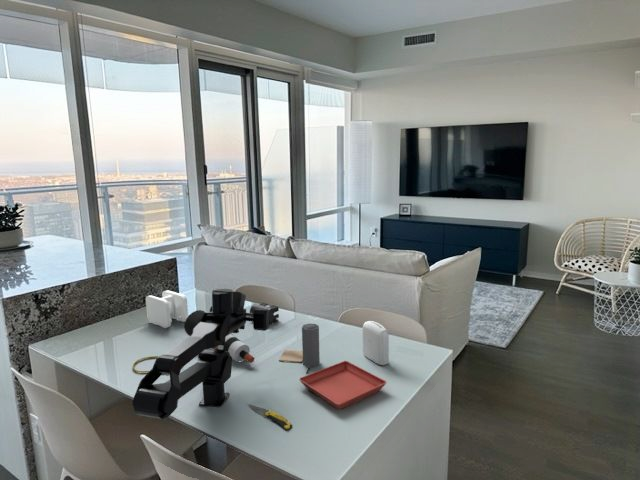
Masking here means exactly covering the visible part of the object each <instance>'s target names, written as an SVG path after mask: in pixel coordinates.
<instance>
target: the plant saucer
mask: <svg viewBox="0 0 640 480" xmlns="http://www.w3.org/2000/svg"><path fill="white" fill-rule="evenodd" d="M298 380H299V381H300V383H301V384H302V385H303V386H304V387H306V389H307V390H309V391H311V392H312V393H314V394H315V395H317V396H318V397H320V398H321V399H322V400H324V401H326V402H328V403H329V404H330V405H332V407H335V408H336V409H338V410H341V409H343V408H347V407H348V406H350V405H352V404H354V403H357V402H359V401H361V400H363V399H365V398H368V397H369V396H371V395H374V394H376V393H378V392H379V391H380V390H382V389H383V388H384V386H385V385H386V384H387V381H386V380H384V379H382V378H381V377H378V375H377V376H376V375H375V374H373V373H372V372H369V371H367V370H366V369H363V368H361V367H359V366H358V365H355V364H354V363H352V362H350V361H348V360H344V361H341V362H338V363H336V364H333V365H330V366H327V367H326V368H323V369H319V370H317V371H315V372H312V373H308V374H307V375H304V376H302V377H300V378H299V379H298Z"/></svg>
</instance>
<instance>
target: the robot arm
mask: <svg viewBox="0 0 640 480" xmlns="http://www.w3.org/2000/svg"><path fill="white" fill-rule="evenodd" d="M246 298H247V296H246V294H245V293H243V292H241V291H234V290H233V289H230V288H217V289H213V290H212V291H211V306H210V308H209V312H208V311H205V312H204V313H203V315H202V317H201V318H200V319H199V322H198V324H197V326H196V327H195V328H194V329H193V334H192V335H191V336H189V337H187V338H186V339H184V340H183V341H182V342H180V343H178V344H177V345H176V346H174V347H172V348H171V349H170V350H169V351H167V352H166V353H164V354H162V355H159V356H158V355H157V356H158V357H157V358H155V361H154V363H153V366H152V368H151V369H150V370H148V371H149V372H146V373H147V374H145V375H144V377H142V379H141V380H140V382H139V383H138V386H137V388H136V391H135V393H134V397H133V399H132V408H133V411H134V413H135V414H136V415H137V416H142V417H147V418H152V419H153V418H154V419H161V420H166V419H168V418H169V417H170V416H171V415H172V414H173V413H174V412H175V410H176V409H177V408H178V403H179V400H180V399H181V398H182V397H184V396H185V395H186V394H187V393H189V392H191V391H193V389H195V388H196V387H197V386H199V385H200V384H202V394H203V395H202V397H201V399H200V400H199V402H198V405H199V406H206V407H216V408H221V407H222V406H223V405H224V404H225V402H226V401H227V399H228V398H229V397H230V395H231V394H230V392H225V383H226V382H228V380H229V379H231V377H232V369H233V368H232V367H233V359H232V357H231V356H230V354H229V352H228V351H226V350H220V349H214V348H215V347H217V346H219V345H223V346H225V337H226V336H228V335H229V334H231V333H232V334H239V333H240V332H239V331H240V330H245V328H246V327H245V326H246V323H247V322H252V326H253V330H254V331H262V332H263V331H264V332H266V331H267V330H268V329H270V324H269V310H268V309H263V308H257V309H255V310H254V313H250V312H247V308H245V302H246ZM206 321H210V322H206ZM196 357H197V362H195V363H194V364H192V365H191V366H189V367H187V368H186V369H184V370H183V371H182V369H183V368H184V367H185V366H187V365H188V364H189V363H190V362H191V361H192V360H193V359H195V358H196ZM181 371H182V372H181ZM162 373H165V374H166V375H169V379H168V380H167V381H166V382H162V383H156V381H157V380H158V379H159V378H160V377H161V376H162V375H163V374H162Z"/></svg>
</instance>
